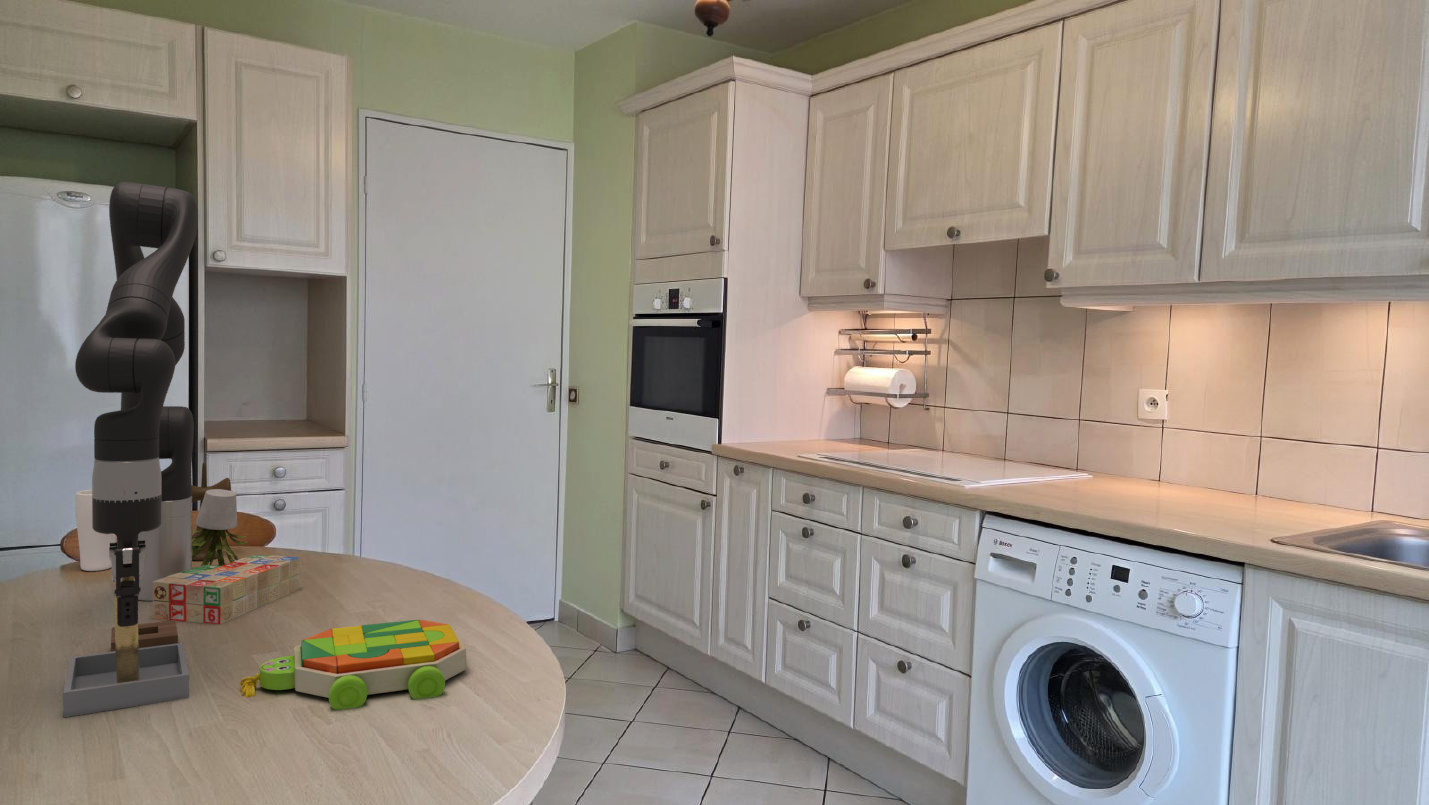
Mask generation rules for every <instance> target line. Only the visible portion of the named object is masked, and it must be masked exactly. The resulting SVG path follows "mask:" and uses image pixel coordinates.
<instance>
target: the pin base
mask: <svg viewBox="0 0 1429 805" xmlns="http://www.w3.org/2000/svg"><path fill="white" fill-rule="evenodd" d="M178 635H179V634H178V629H177V621H175V620H171V621H170V620H162V621H155V622H145V623H138V639H139V648H145V647H153V646H161V645H169V644H177V643H179V637H178ZM114 651H116V643H115V626H112V627H111V633H110V652H114Z"/></svg>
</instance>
